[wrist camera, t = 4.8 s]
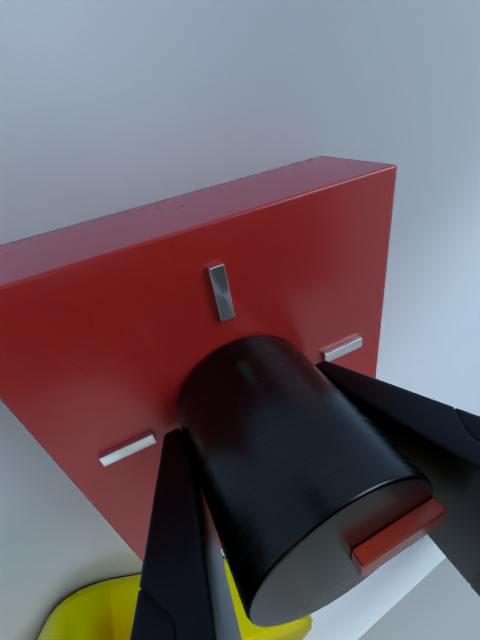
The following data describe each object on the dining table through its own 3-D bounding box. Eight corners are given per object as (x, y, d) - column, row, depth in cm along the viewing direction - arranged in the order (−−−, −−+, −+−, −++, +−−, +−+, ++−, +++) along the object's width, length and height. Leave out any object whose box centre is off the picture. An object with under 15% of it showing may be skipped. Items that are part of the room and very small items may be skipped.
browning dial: (196, 464, 10) (271, 670, 6) (156, 371, 8) (234, 606, 4) (306, 409, 11) (429, 558, 7) (300, 312, 9) (473, 454, 5)
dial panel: (-32, 253, 8) (-84, 315, 5) (322, 155, 10) (403, 165, 8) (147, 512, 15) (162, 589, 13) (327, 418, 18) (369, 467, 15)
